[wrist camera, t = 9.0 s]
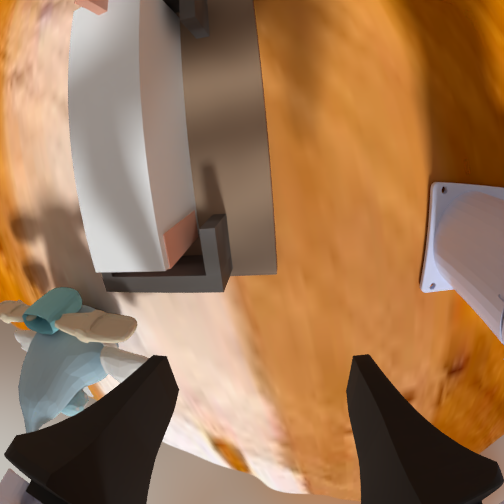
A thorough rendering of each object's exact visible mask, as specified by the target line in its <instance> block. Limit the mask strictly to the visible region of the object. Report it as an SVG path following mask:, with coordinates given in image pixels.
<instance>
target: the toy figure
mask: <svg viewBox="0 0 504 504" xmlns="http://www.w3.org/2000/svg"><path fill="white" fill-rule="evenodd" d="M0 319H1V320H3V321H4V322H5V323H11V322H24V323H25V324H26V326H27V327H28V328H29V329H31V330H16V331H15V333H14V335H15V338H16V339H17V341H18V342H19V343H21V348H22V349H23V350H25V351H26V352H27V354H26V357H25V360H24V363H23V366H22V370H21V375H20V381H19V386H18V388H19V401H20V405H21V409H22V412H23V416H24V421H25V427H26V433H29V432H34V431H37V430H39V428H40V427H41V426H42V425H43V424H45V423H47V422H48V421H50V420H52V419H53V418H55V417H56V416H57V415H58V414H59V413H61V412H62V413H63V414H65V415H68V416H74V415H76V414H78V413H79V412H81V411H83V410H84V408H85V406H86V404H87V402H88V401H89V399H88V396H91V397H93V395H92V393H91V392H90V390H89V389H88V387H87V386H89V385H91V384H94V383H97V382H99V381H101V380H102V379H104V378H105V377H106V376H107V375H108V374H110V375H111V376H112V377H113V378H114V379H116V380H117V381H118V382H120V383H122V382H123V381H124V380H125V379H126V378H127V377H129V376H130V375H131V374H132V373H133V372H134V371H136V370H137V369H138V368H139V367H140V366H141V365H142V364H144V363H145V362H146V361H147V360H148V359H149V358H147V357H145V356H142V355H138V354H134V353H130V352H127V351H124V350H121V349H119V346H118V343H119V342H124V341H126V340H128V339H129V338H130V337H131V336H132V335H133V333H134V331H135V330H136V327H137V321H136V320H135V318H132V317H130V316H124V315H119V314H111V313H106V312H104V311H102V310H96V309H94V308H92V307H90V306H86V305H82V299H81V296H80V294H79V293H78V291H76V290H74V289H72V288H66V287H60V288H55V289H53V290H50V291H49V292H47V293H46V294H45V295H44V296H42V297H41V298H40V299H39V300H37V301H36V302H35V303H34V304H33V305H31V306H29V305H26V304H24V303H23V302H22V301H21V300H18V301H3V302H1V303H0ZM82 389H83V390H84V391H83V390H82Z"/></svg>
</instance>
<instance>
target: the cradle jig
mask: <svg viewBox="0 0 504 504" xmlns="http://www.w3.org/2000/svg"><path fill="white" fill-rule="evenodd" d="M163 1H164V2H165V3H166V4H167V5H168V6H169V7H170V8H171V9H172V11H173V12H174V13H175V14H176V15H177V16H178V17H179V18H180V40H181V60H182V76H183V90H184V103H185V115H186V126H187V136H188V146H189V155H190V164H191V172H192V181H193V189H194V196H195V204H196V211H197V218H198V225H199V234H198V236H199V237H198V238H197V239H196V240H195V241H194V242H193V244H192V245H191V246H190V247H189V248H188V249H187V251H186V252H185V253H184V254H183V255H182V256H181V257H180V259H179V260H178V261H177V262H176V263H175V264H174V266H173V267H172V268H171V269H167V270H166V271H152V272H100V274H101V277H102V278H103V281H104V284H105V287H106V290H107V292H162V293H198V292H224V290H225V287H226V285H227V282H228V280H229V277H230V276H245V275H273V274H277V254H276V238H275V223H274V208H273V194H272V181H271V168H270V156H269V144H268V132H267V121H266V111H265V100H264V90H263V80H262V71H261V61H260V52H259V44H258V35H257V27H256V18H255V10H254V3H253V0H163Z"/></svg>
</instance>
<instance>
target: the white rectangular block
mask: <svg viewBox="0 0 504 504" xmlns="http://www.w3.org/2000/svg"><path fill="white" fill-rule="evenodd" d="M74 3H75V4H77V5H80V6H82V7H81V8H79V9H77V10H75V11H74V14H73V21H72V29H71V38H70V50H69V68H68V110H69V129H70V141H71V151H72V160H73V168H74V175H75V182H76V188H77V194H78V200H79V205H80V210H81V215H82V220H83V225H84V229H85V233H86V238H87V242H88V246H89V250H90V254H91V257H92V261H93V264H94V268H95V271H96V272H152V271H166V270H167V269H171V268H172V267H173V266H174V264H175V263H176V262H177V261H178V260H179V259H180V257H181V256H182V255H183V254H184V253H185V252H186V251H187V249H188V248H189V247H190V246H191V245H192V244H193V242H194V241H195V240H196V239H197V238H198V237H199V236H198V234H199V225H198V218H197V211H196V204H195V196H194V189H193V181H192V172H191V164H190V155H189V146H188V136H187V126H186V115H185V103H184V90H183V76H182V60H181V40H180V18H179V17H178V16H177V15H176V14H175V13H174V12H173V11H172V9H171V8H170V7H169V6H168V5H167V4H166V3H165V2H164V1H163V0H75V2H74Z"/></svg>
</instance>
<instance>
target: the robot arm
mask: <svg viewBox="0 0 504 504" xmlns="http://www.w3.org/2000/svg"><path fill="white" fill-rule="evenodd" d="M443 187H444V188H445V190H444V192H443V193H442V188H443ZM432 283H433V285H432V286H431V287H430V285H431V284H432ZM420 289H421V290H422V291H423V292H424V293H427V292H436V291H444V290H452V289H455V290H456V291H457V292H458V294H459V295H460V296H461V297H462V298H463V299H464V300H465V301H466V302H467V303H468V304H469V305H470V306H471V307H472V308H473V310H474V311H475V312H476V313H477V314H478V315H479V316H480V317H481V319H482V320H483V321H484V322H485V323H486V324H487V326H488V327H489V328H490V329H491V330H492V331H493V333H494V334H495V335H496V336H497V337H498V339H499V340H500V341H501V342H502V344H503V345H504V188H503V187H494V186H485V185H474V184H462V183H449V182H434V183H433V184H432V185H431V189H430V208H429V221H428V232H427V241H426V250H425V257H424V264H423V270H422V276H421V282H420ZM178 392H179V388H178V386H177V383H176V381H175V378H174V375H173V373H172V370H171V367H170V364H169V362H168V359H167V356H157V355H153V356H152V357H151V358H149V359H148V360H147V361H146V362H145V363H144V364H142V365H141V366H140V367H139V368H138V369H137V370H136V371H134V372H133V373H132V374H131V375H130V376H129V377H127V378H126V379H125V380H124V381H123V382H122V383H120V384H119V385H118V386H117V387H115V388H114V389H113V390H112V391H110V392H109V393H108V394H106V395H105V396H104V397H102V398H101V399H100V400H98V401H97V402H95V403H94V404H92V405H91V406H90V407H88V408H86V409H84V410H83V411H81V412H79V413H78V414H76V415H74V416H72V417H70V418H68V419H66V420H64V421H62V422H59V423H57V424H54V425H52V426H49V427H47V428H44V429H41V430H37V431H34V432H29V433H26V434H21V435H16V437H15V438H14V440H13V441H12V443H11V444H10V446H9V447H8V449H7V451H6V452H5V454H4V455H5V457H6V458H7V459H8V460H9V461H10V462H11V463H12V464H13V465H14V466H15V467H17V468H18V469H19V470H20V471H21V472H22V473H24V474H25V475H26V476H27V477H28V478H30V479H31V482H30V484H29V483H28V482H27V481H25V480H24V479H23V478H21V477H20V476H19V475H17V474H16V473H15V472H14V471H13V470H11V469H8V471H7V473H6V474H5V476H4V477H3V479H2V481H1V483H0V504H146V502H147V495H148V489H149V484H150V479H151V474H152V470H153V466H154V462H155V459H156V455H157V453H158V450H159V447H160V445H161V442H162V440H163V437H164V435H165V432H166V430H167V427H168V425H169V422H170V420H171V417H172V414H173V412H174V409H175V405H176V401H177V396H178ZM346 393H347V403H348V412H349V417H350V422H351V426H352V431H353V435H354V440H355V444H356V449H357V454H358V459H359V466H360V480H361V504H482V500H483V499H484V498H486V497H487V496H489V495H490V494H491V493H493V492H494V491H496V490H497V489H498V488H499V487H500V486H501V485H502V484H503V482H504V479H503V476H502V473H501V470H500V468H499V465H498V463H497V462H495V461H493V460H491V459H488V458H486V457H483V456H481V455H479V454H477V453H475V452H473V451H471V450H469V449H467V448H465V447H463V446H462V445H460V444H458V443H457V442H455V441H454V440H452V439H451V438H449V437H448V436H447V435H445V434H444V433H442V432H441V431H440V430H438V429H437V428H436V427H434V426H433V425H432V424H431V423H430V422H428V421H427V420H426V419H425V418H424V417H423V416H422V415H421V414H420V413H419V412H417V411H416V410H415V409H414V408H413V407H412V405H411V404H410V403H409V402H408V401H407V400H406V399H405V398H404V397H403V396H402V395H401V394H400V392H399V391H398V390H397V389H396V388H395V387H394V386H393V384H392V383H391V382H390V381H389V380H388V378H387V377H386V376H385V375H384V373H383V372H382V371H381V369H380V368H379V367H378V366H377V364H376V363H375V362H374V360H373V359H372V358H371V356H370V355H369V354H367V355H357V356H353V359H352V365H351V370H350V375H349V380H348V385H347V390H346ZM500 504H504V501H503V502H501V503H500Z"/></svg>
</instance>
